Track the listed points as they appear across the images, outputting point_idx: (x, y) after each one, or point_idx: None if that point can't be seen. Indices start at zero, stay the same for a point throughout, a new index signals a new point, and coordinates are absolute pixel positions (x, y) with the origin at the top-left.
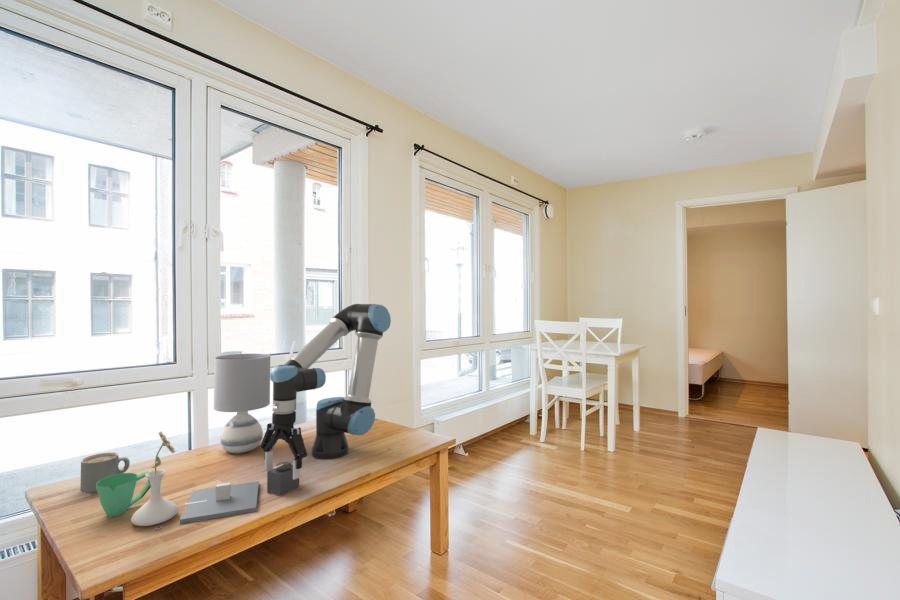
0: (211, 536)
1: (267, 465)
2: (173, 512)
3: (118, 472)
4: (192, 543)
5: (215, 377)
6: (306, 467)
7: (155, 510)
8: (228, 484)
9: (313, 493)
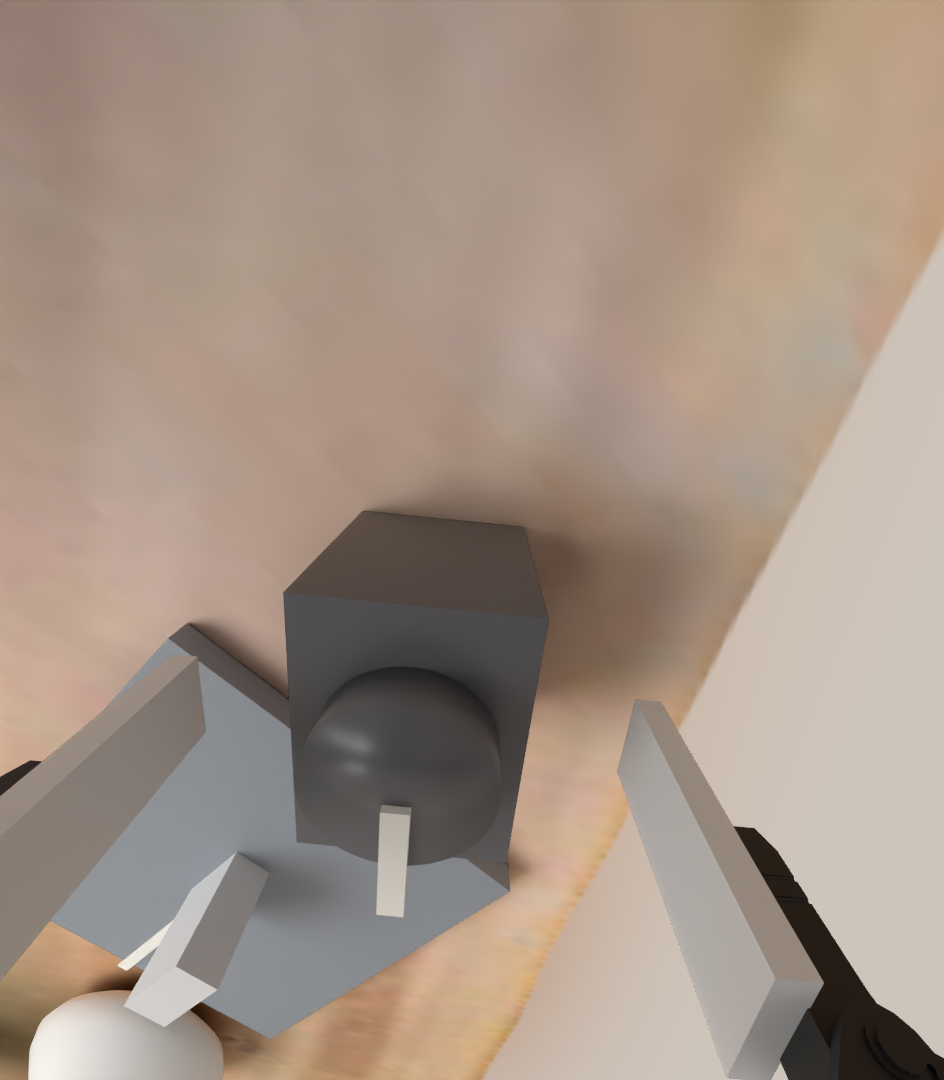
0: (499, 1029)
1: (161, 771)
2: (199, 1056)
3: None
4: (473, 1065)
5: None
6: (212, 39)
7: None
8: (203, 989)
9: (724, 583)
